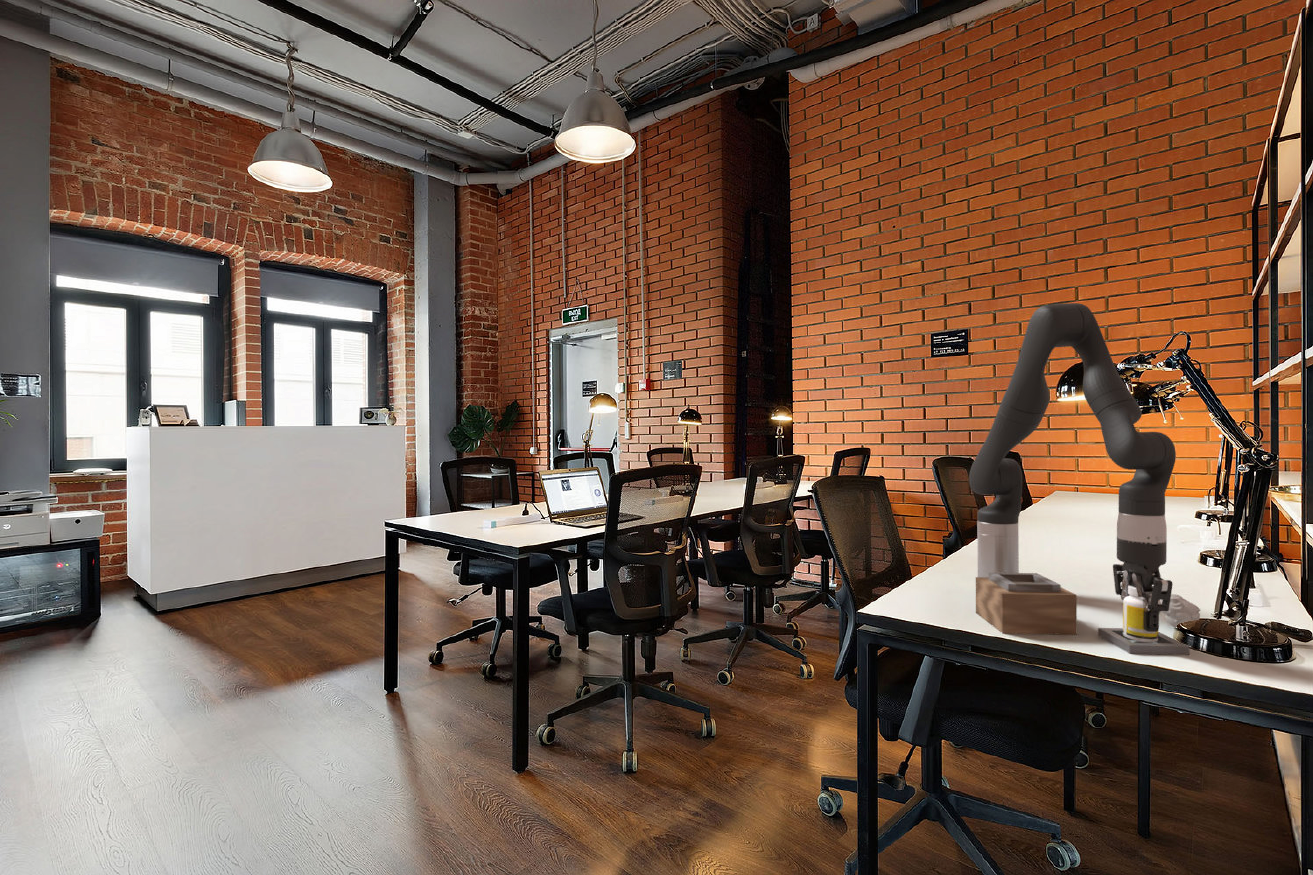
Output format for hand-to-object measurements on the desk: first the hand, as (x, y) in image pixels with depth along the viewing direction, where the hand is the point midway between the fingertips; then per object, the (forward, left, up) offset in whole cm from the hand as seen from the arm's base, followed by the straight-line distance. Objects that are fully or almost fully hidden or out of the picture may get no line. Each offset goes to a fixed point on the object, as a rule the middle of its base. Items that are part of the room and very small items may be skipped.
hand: (1140, 625), depth 121 cm
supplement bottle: (0, 0, -3) cm, 3 cm away
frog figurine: (-10, +13, -4) cm, 17 cm away
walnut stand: (-12, -16, -4) cm, 20 cm away
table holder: (0, 0, -4) cm, 4 cm away
